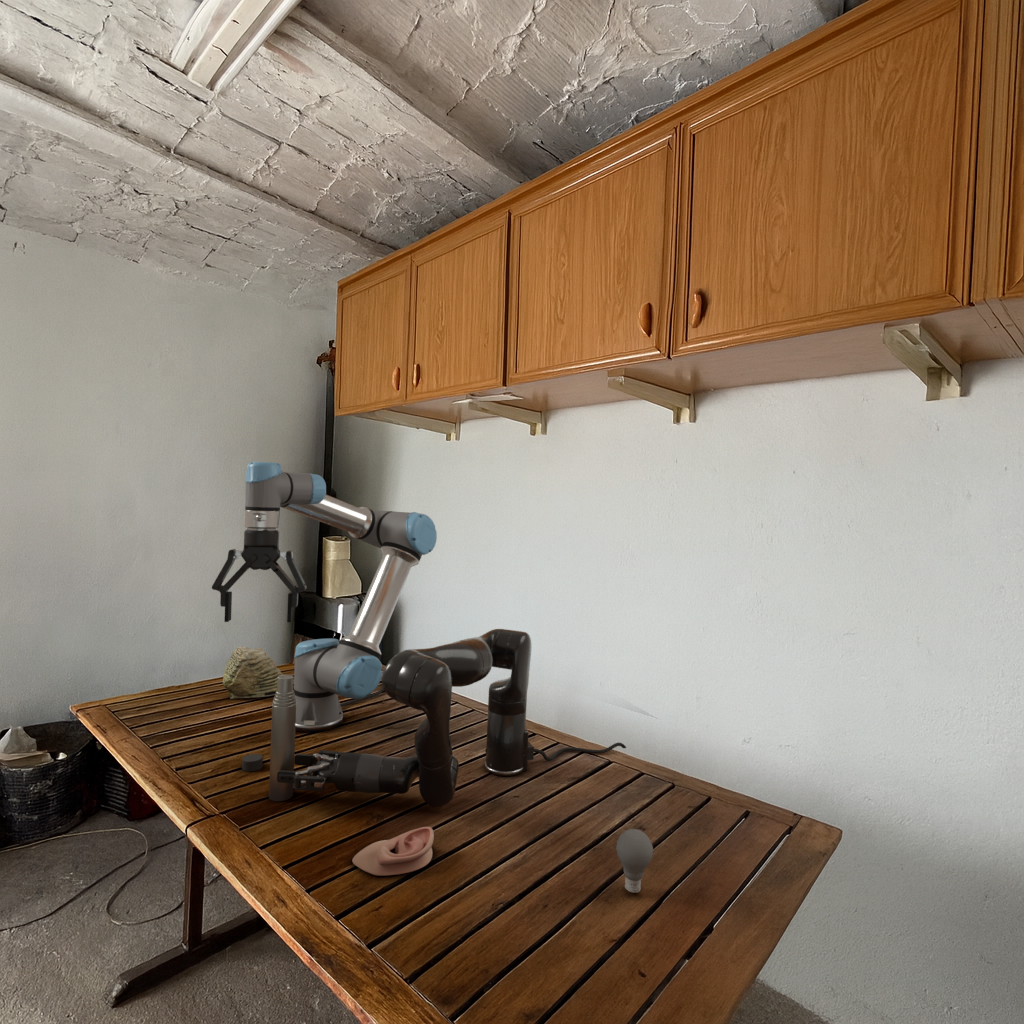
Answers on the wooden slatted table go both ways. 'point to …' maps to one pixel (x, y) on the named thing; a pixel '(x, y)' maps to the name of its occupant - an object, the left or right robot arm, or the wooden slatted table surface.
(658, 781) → the wooden slatted table surface
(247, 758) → the cap
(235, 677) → the fossil
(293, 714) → the bottle
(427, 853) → the anatomical model
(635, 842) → the light bulb
